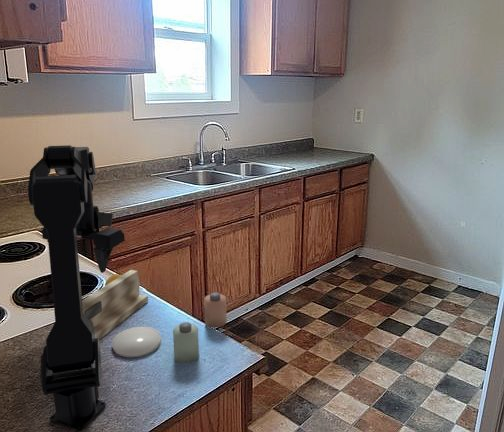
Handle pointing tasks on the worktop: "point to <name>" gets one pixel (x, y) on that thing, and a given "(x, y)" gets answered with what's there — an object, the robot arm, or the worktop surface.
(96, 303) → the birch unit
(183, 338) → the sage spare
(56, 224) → the robot arm
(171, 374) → the worktop surface
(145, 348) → the ceramic plate
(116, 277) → the bread roll
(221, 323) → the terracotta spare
